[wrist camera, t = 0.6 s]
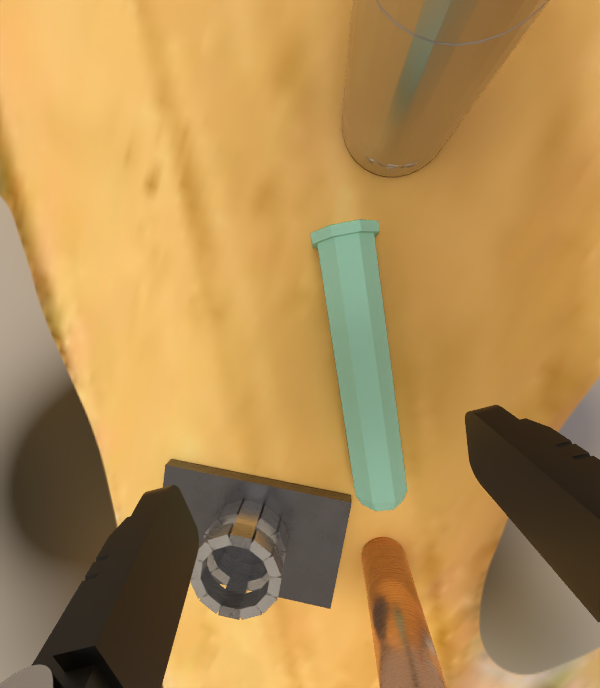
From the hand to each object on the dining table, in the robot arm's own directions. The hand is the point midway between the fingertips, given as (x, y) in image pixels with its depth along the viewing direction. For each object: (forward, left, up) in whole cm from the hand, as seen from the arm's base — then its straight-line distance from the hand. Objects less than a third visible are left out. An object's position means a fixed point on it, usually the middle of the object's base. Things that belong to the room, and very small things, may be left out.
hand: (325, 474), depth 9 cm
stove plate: (+20, -5, -22) cm, 30 cm away
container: (+1, +3, -22) cm, 23 cm away
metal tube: (+20, +9, -22) cm, 31 cm away
